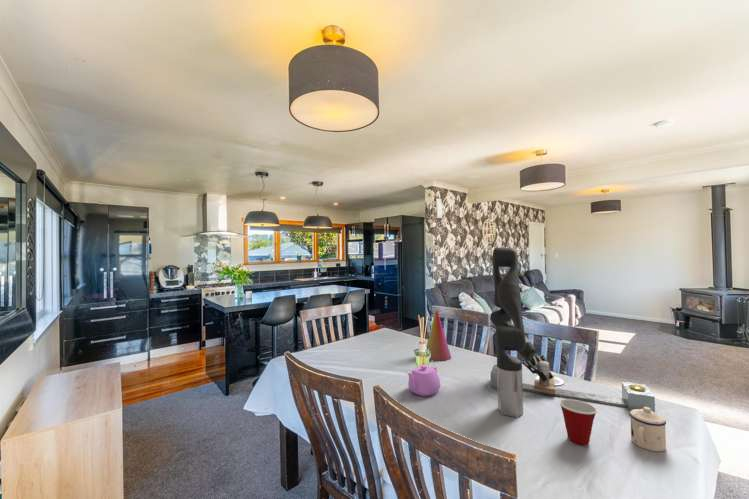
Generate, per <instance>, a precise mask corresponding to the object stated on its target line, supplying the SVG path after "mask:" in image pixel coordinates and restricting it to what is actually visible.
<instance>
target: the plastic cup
mask: <svg viewBox="0 0 749 499" xmlns="http://www.w3.org/2000/svg"><path fill="white" fill-rule="evenodd" d="M558 402H559V405H560V408H561V411H562V416H563V421H564V425H565V430H566V435H567V438H568V441H569V442H570V443H572V444H574V445H577V446H580V447H586V446H588V445H589V443H590V439H591V435H592V431H593V430H592V429H593V425H594V420H595V416H596V414H597V413H598V408H597V407H595V406H593V404H590V403H587V402H585V401H583V400H578V399H571V398H565V399H564V398H562V399H560V400H559V401H558Z"/></svg>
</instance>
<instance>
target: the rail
mask: <svg viewBox="0 0 749 499" xmlns="http://www.w3.org/2000/svg"><path fill="white" fill-rule="evenodd" d="M522 385H523V392H529V393H535V394H541V395H546V396H547V395H548V396H554V397H559V398H565V399H573V400H578V401H583V402H585V401H586V402H590V403H591V402H592V403H597V404H602V405H611V406H615V407H621V408H622V407H623V408H627V410H628V412H630V411H631V410H634V409H643V407H649V408H650V409H651V411H653V412H654V413H656V400H655V395H654V394H653V392H652V391H651V390H650V388H649V387H648V386H647V384H643V383H635V382H627V381H621V397H620V398H619V397H613V396H608V395H601V394H595V393H589V392H582V391H575V390H568V389H563V388H556V387H555V394H550V393H544V392H538V391H534V384H531V383H529V384H528V383H523V382H522ZM490 389H494V390H498V388H497V364H493V367H492V368H491V371H490Z"/></svg>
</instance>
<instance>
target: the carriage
mask: <svg viewBox="0 0 749 499" xmlns="http://www.w3.org/2000/svg"><path fill="white" fill-rule="evenodd" d="M539 368H540V369H541V372H543V373H544V375H545V376H546V377H547V380H546V381H545V382H543V380H542V379H541V378H540V377H539V380H538V379H535V378H534V384H533V385H534V391H538V392H544V393H550V394H555V388H556V385H555V384H556V382H552V381H549V371H550V362H548V361H547V360H546V361H539Z"/></svg>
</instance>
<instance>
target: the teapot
mask: <svg viewBox="0 0 749 499" xmlns="http://www.w3.org/2000/svg"><path fill="white" fill-rule="evenodd" d="M406 375H408V383H407V384H408V385H407V387H408V389H409V391H410V392H411V393H413V394H415V395H419V396H422V397H429V396H432V395H435V394H437V393H438V392H439V390H440V389H441V380H440V377H439V374H438V369H437V368H436V367H435V366H428V365H426V364H421V365H420V366H419V365H418V366H416V367H415V368H413V369H412V371H411V372H406Z"/></svg>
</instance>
